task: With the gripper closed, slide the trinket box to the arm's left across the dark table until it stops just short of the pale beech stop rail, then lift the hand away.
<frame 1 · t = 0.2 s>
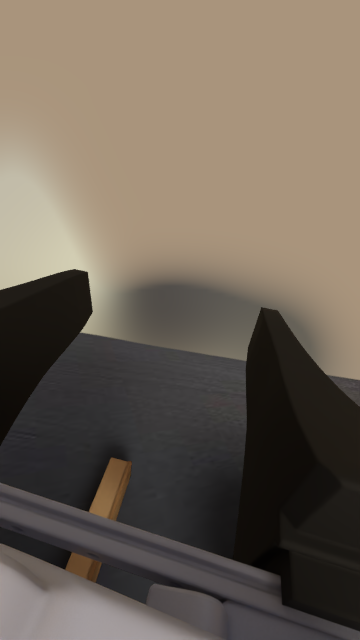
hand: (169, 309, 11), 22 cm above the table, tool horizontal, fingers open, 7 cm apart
stop rail: (80, 584, 19), on the table
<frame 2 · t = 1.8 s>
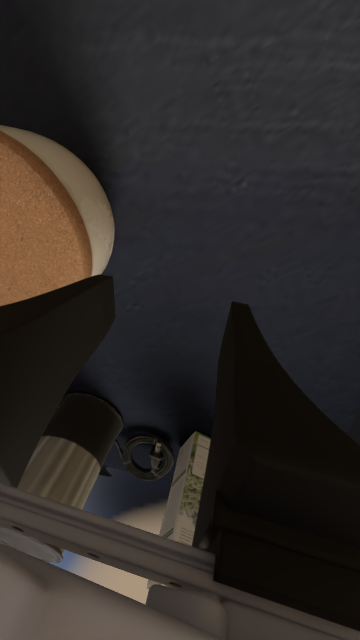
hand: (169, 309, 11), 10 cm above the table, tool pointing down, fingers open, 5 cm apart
milk frother: (119, 425, 38), on the table
trinket box: (72, 208, 21), on the table
syrup box: (206, 446, 35), on the table
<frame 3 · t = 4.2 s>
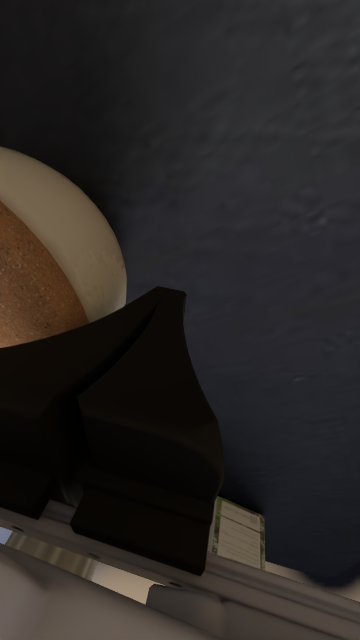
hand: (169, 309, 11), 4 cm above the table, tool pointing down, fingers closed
milk frother: (125, 480, 32), on the table
trinket box: (67, 245, 15), on the table, touching gripper
syrup box: (229, 509, 30), on the table
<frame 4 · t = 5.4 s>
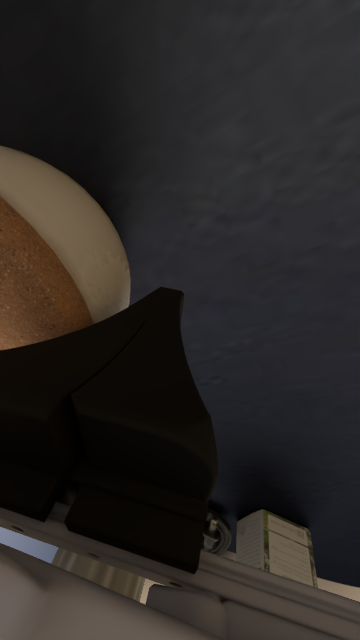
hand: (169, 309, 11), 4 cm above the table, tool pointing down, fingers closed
milk frother: (163, 492, 31), on the table
trinket box: (70, 245, 15), on the table, touching gripper
syrup box: (271, 521, 29), on the table
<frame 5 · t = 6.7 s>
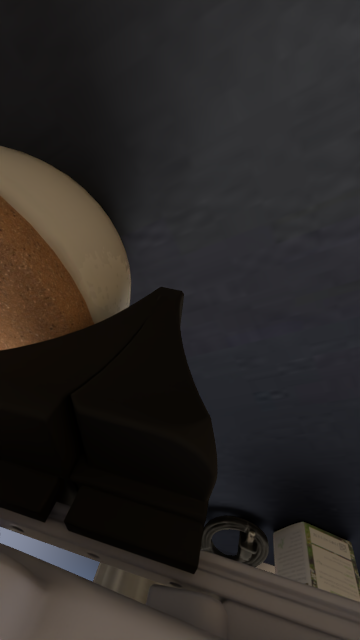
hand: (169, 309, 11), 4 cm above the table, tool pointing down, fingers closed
milk frother: (197, 502, 31), on the table
trinket box: (71, 245, 15), on the table, touching gripper
syrup box: (309, 533, 29), on the table
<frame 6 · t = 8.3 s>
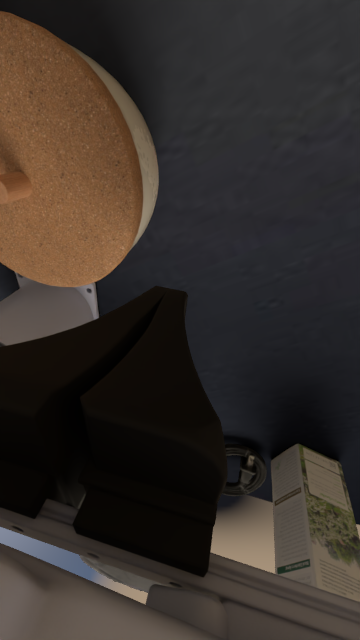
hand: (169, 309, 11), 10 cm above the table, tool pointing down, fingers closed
milk frother: (202, 434, 34), on the table
trinket box: (104, 165, 18), on the table
syrup box: (303, 459, 32), on the table
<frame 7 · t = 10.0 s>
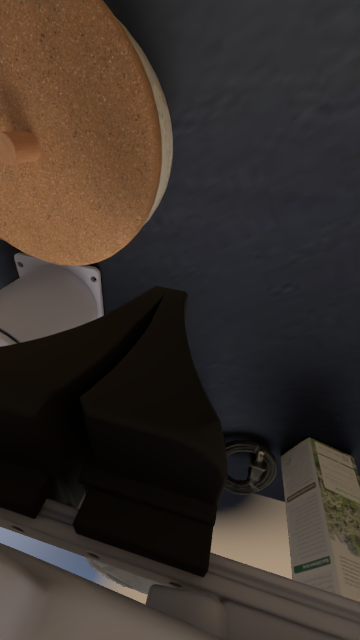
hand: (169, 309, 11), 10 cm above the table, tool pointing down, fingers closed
milk frother: (209, 431, 33), on the table
trinket box: (112, 142, 17), on the table
syrup box: (314, 453, 31), on the table
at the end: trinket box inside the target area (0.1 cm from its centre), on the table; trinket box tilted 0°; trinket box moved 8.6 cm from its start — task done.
